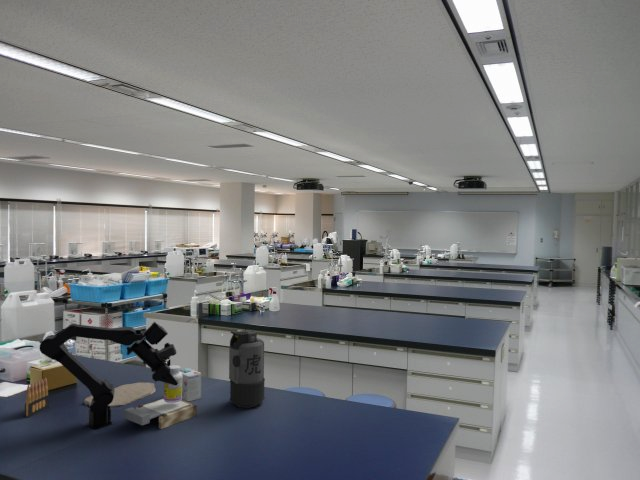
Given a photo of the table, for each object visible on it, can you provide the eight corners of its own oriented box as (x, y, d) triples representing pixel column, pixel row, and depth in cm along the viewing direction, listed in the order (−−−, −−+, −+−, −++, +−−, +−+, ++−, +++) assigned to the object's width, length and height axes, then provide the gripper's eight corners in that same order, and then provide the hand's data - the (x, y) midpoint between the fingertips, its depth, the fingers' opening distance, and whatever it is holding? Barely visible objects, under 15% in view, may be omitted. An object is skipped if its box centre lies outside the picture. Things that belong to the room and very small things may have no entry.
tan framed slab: (161, 429, 171) (161, 415, 171) (135, 418, 180) (135, 405, 180) (196, 415, 184) (196, 403, 184) (170, 406, 193) (170, 394, 193)
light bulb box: (173, 395, 205) (174, 370, 205) (187, 392, 210) (188, 367, 210) (187, 402, 198) (187, 376, 197) (201, 398, 203) (201, 372, 202)
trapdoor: (143, 425, 167) (143, 417, 167) (123, 417, 174) (123, 409, 174) (189, 408, 183) (189, 401, 183) (169, 401, 190) (169, 394, 190)
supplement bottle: (164, 397, 185) (165, 364, 184) (182, 397, 186) (183, 364, 186) (162, 403, 178) (163, 369, 178) (180, 403, 179) (182, 369, 179)
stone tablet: (80, 404, 195) (80, 398, 194) (141, 384, 220) (141, 378, 220) (106, 413, 186) (106, 407, 186) (166, 391, 212) (166, 385, 212)
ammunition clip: (28, 417, 180) (28, 385, 179) (24, 417, 180) (24, 385, 180) (49, 407, 190) (49, 377, 190) (45, 406, 190) (45, 376, 190)
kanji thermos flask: (270, 405, 195) (271, 331, 195) (238, 412, 187) (239, 335, 187) (255, 394, 207) (255, 325, 206) (223, 401, 199) (224, 329, 198)
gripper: (163, 343, 171) (194, 373, 175) (164, 332, 189) (192, 359, 193) (138, 366, 169) (170, 396, 173) (142, 353, 187) (171, 380, 190)
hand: (177, 381), depth 182 cm, fingers closed on supplement bottle, 7 cm apart
